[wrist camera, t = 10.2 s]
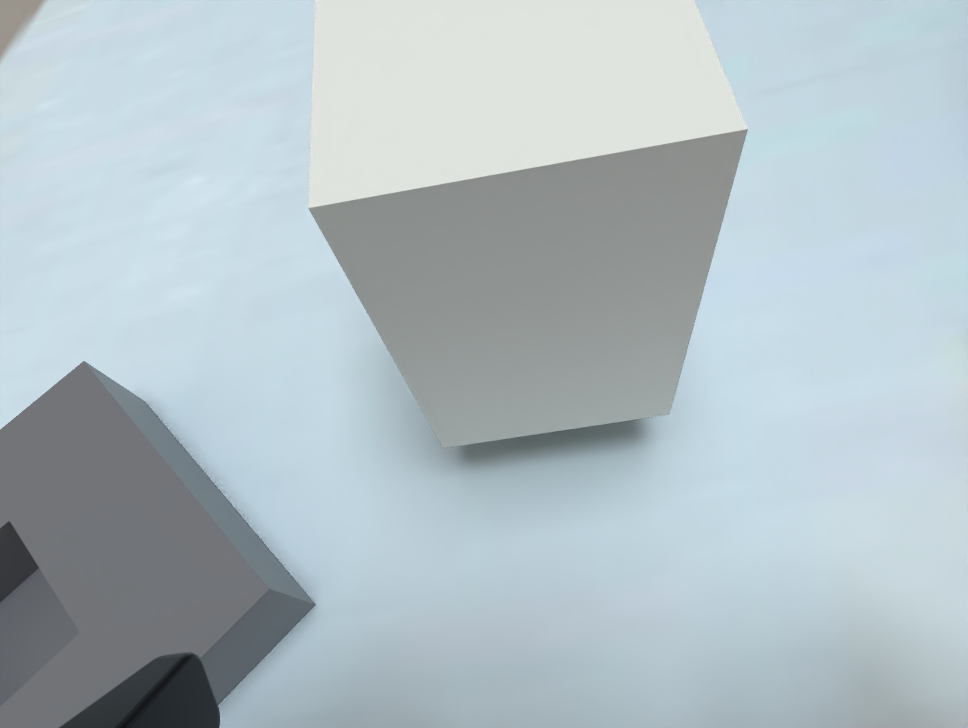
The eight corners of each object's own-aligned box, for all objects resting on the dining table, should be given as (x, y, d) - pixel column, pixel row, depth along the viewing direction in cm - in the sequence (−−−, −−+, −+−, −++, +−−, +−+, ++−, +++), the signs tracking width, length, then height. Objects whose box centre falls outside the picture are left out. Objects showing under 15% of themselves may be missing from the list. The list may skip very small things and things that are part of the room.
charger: (660, 446, 16) (748, 129, 7) (458, 476, 16) (308, 208, 8) (619, 279, 18) (647, -113, 10) (443, 308, 19) (316, -44, 10)
